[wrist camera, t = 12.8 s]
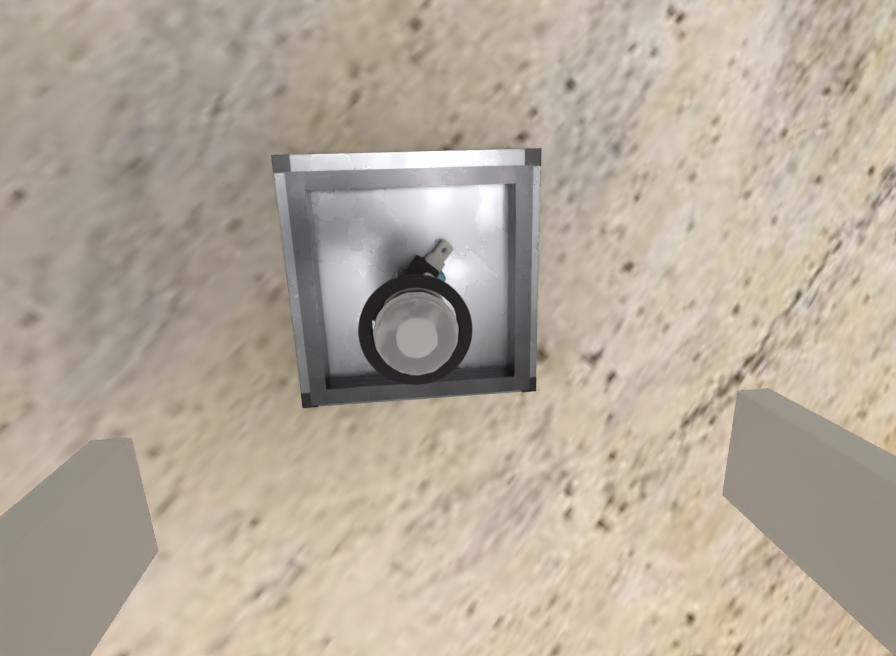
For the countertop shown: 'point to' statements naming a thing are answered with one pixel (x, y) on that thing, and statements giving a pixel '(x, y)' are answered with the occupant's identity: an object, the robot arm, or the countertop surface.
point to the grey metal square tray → (393, 249)
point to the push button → (416, 323)
